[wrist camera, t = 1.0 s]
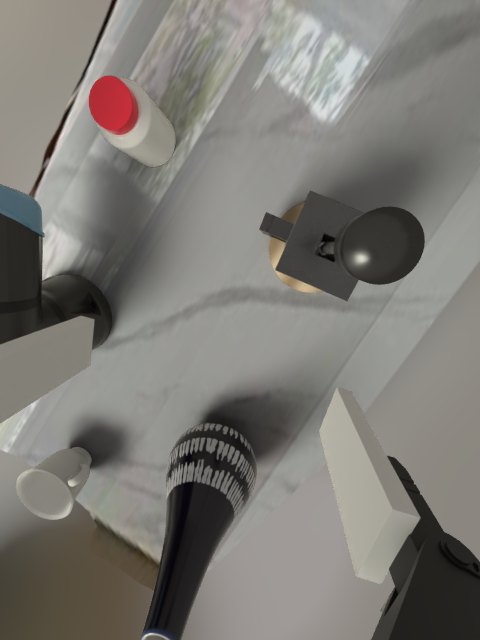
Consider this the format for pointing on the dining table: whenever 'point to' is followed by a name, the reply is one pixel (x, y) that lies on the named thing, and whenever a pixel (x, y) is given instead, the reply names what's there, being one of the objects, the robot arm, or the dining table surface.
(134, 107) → the pill bottle
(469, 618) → the robot arm
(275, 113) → the dining table surface
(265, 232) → the french press
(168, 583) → the vase
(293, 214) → the ring
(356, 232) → the plunger
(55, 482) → the teacup
